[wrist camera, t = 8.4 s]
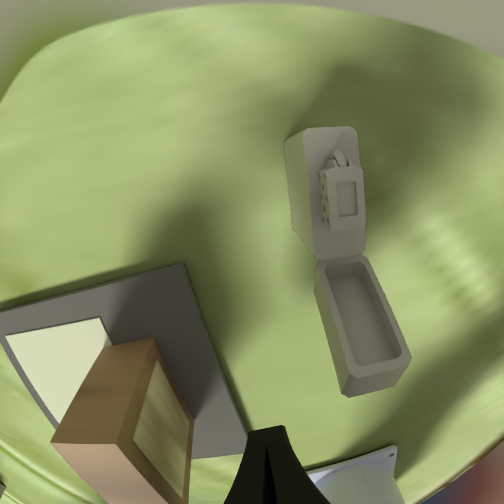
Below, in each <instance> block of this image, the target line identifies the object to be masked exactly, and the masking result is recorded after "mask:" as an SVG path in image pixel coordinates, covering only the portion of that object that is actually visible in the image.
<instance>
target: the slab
mask: <svg viewBox="0 0 504 504" xmlns="http://www.w3.org/2000/svg"><path fill="white" fill-rule="evenodd" d="M193 431H194V419H193V417H192V415H191V413H190V411H189V409H188V408H187V406H186V404H185V402H184V400H183V398H182V396H181V394H180V392H179V390H178V388H177V386H176V384H175V382H174V380H173V378H172V376H171V374H170V372H169V370H168V368H167V366H166V363H165V361H164V359H163V357H162V355H161V353H160V350H159V348H158V346H157V344H156V342H155V339H154V337H153V338H148V339H143V340H138V341H133V342H128V343H123V344H118V345H113V346H107V347H103V349H102V350H101V352H100V354H99V355H98V357H97V358H96V360H95V362H94V364H93V365H92V367H91V369H90V370H89V372H88V374H87V375H86V377H85V379H84V381H83V382H82V384H81V386H80V388H79V389H78V391H77V393H76V395H75V396H74V398H73V400H72V402H71V404H70V405H69V407H68V409H67V411H66V413H65V415H64V416H63V418H62V420H61V422H60V424H59V426H58V428H57V430H56V432H55V434H54V435H53V437H52V439H51V441H50V443H51V445H52V446H53V447H54V448H55V449H56V451H57V452H58V453H59V454H60V455H61V456H62V457H63V459H64V460H65V461H66V462H67V463H68V464H69V465H70V466H71V467H72V468H73V469H74V471H75V472H76V473H77V474H78V475H79V476H80V477H81V478H82V479H83V480H84V481H85V482H86V483H87V484H88V485H89V486H90V487H91V488H92V489H93V490H94V491H95V492H97V493H98V494H99V495H100V496H101V497H102V498H103V499H104V500H105V501H106V502H107V503H109V504H188V498H189V483H190V469H191V455H192V443H193Z"/></svg>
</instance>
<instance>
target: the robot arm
mask: <svg viewBox="0 0 504 504" xmlns="http://www.w3.org/2000/svg"><path fill="white" fill-rule="evenodd" d="M397 451H398V449H397V446H396V445H391V446H388V447H386V448H383V449H380V450H377V451H375V452H372V453H369V454H366V455H363V456H360V457H357V458H354V459H350V460H347V461H344V462H340V463H337V464H333V465H330V466H326V467H322V468H318V469H314V470H310V471H305V470H304V468H303V467H302V465H301V463H300V462H299V460H298V458H297V457H296V455H295V453H294V451H293V449H292V447H291V445H290V442H289V438H288V435H287V432H286V428H285V426H283V425H279V426H275V427H270V428H265V429H259V430H254V431H250V432H249V433H248V437H247V442H246V447H245V451H244V454H243V458H242V461H241V464H240V467H239V470H238V472H237V475H236V478H235V480H234V483H233V485H232V487H231V489H230V492H229V494H228V496H227V498H226V500H225V502H224V504H405V502H404V500H403V497H402V495H401V493H400V490H399V488H398V486H397V483H396V481H395V479H394V477H393V476H394V470H395V464H396V458H397Z"/></svg>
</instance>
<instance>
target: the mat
mask: <svg viewBox="0 0 504 504" xmlns="http://www.w3.org/2000/svg"><path fill="white" fill-rule="evenodd" d="M153 337H154V339H155V342H156V344H157V346H158V348H159V350H160V353H161V355H162V357H163V359H164V361H165V363H166V366H167V368H168V370H169V372H170V374H171V376H172V378H173V380H174V382H175V384H176V386H177V388H178V390H179V392H180V394H181V396H182V398H183V400H184V402H185V404H186V406H187V408H188V409H189V411H190V413H191V415H192V417H193V419H194V431H193V443H192V455H191V459H200V458H210V457H219V456H227V455H235V454H242V453H244V451H245V447H246V442H247V437H248V432H247V430H246V427H245V425H244V423H243V420H242V418H241V416H240V413H239V411H238V409H237V406H236V404H235V401H234V399H233V396H232V394H231V391H230V389H229V386H228V384H227V381H226V379H225V376H224V374H223V371H222V369H221V366H220V364H219V361H218V358H217V356H216V353H215V350H214V348H213V345H212V342H211V340H210V337H209V334H208V331H207V329H206V326H205V323H204V320H203V318H202V315H201V312H200V309H199V306H198V303H197V300H196V298H195V295H194V292H193V289H192V286H191V283H190V280H189V277H188V274H187V271H186V268H185V265H184V262H182V263H178V264H174V265H170V266H166V267H162V268H158V269H155V270H151V271H147V272H143V273H139V274H135V275H131V276H128V277H124V278H120V279H116V280H112V281H109V282H105V283H101V284H97V285H93V286H90V287H86V288H82V289H78V290H74V291H71V292H67V293H63V294H59V295H56V296H52V297H48V298H44V299H41V300H37V301H33V302H29V303H26V304H22V305H18V306H15V307H11V308H7V309H4V310H0V342H1V344H2V346H3V348H4V350H5V352H6V354H7V355H8V357H9V359H10V361H11V363H12V364H13V366H14V368H15V370H16V371H17V373H18V375H19V376H20V378H21V380H22V381H23V383H24V384H25V386H26V388H27V389H28V391H29V392H30V394H31V395H32V397H33V398H34V400H35V401H36V403H37V404H38V406H39V407H40V409H41V410H42V411H43V413H44V414H45V416H46V417H47V418H48V420H49V421H50V422H51V424H52V425H53V426H54V428H55V429H56V430H57V428H58V426H59V424H60V422H61V420H62V418H63V416H64V415H65V413H66V411H67V409H68V407H69V405H70V404H71V402H72V400H73V398H74V396H75V395H76V393H77V391H78V389H79V388H80V386H81V384H82V382H83V381H84V379H85V377H86V375H87V374H88V372H89V370H90V369H91V367H92V365H93V364H94V362H95V360H96V358H97V357H98V355H99V354H100V352H101V350H102V349H103V347H107V346H113V345H118V344H123V343H128V342H133V341H138V340H143V339H148V338H153Z"/></svg>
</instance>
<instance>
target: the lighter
mask: <svg viewBox="0 0 504 504" xmlns="http://www.w3.org/2000/svg"><path fill="white" fill-rule="evenodd" d="M283 147H284V156H285V164H286V173H287V182H288V191H289V200H290V210H291V220H292V229H293V230H294V232H295V233H296V234H297V235H298V237H299V238H300V239H301V240H302V242H303V243H304V244H305V245H306V247H307V248H308V249H309V250H310V252H311V253H312V254H313V255H314V257H316V258H317V259H318V260H319V262H318V263H317V264H316V273H315V286H314V294H315V298H316V301H317V304H318V308H319V311H320V315H321V319H322V322H323V326H324V329H325V333H326V337H327V340H328V344H329V348H330V351H331V355H332V359H333V363H334V366H335V370H336V374H337V378H338V382H339V386H340V390H341V394H343V395H345V396H347V397H348V398H350V397H354V396H358V395H363V394H367V393H371V392H375V391H378V390H382V389H386V388H389V387H393V386H395V384H396V383H397V381H398V380H399V378H400V377H401V375H402V374H403V373H404V371H405V370H406V368H407V367H408V365H409V363H410V361H411V359H412V357H411V354H410V352H409V349H408V347H407V344H406V342H405V339H404V337H403V335H402V332H401V330H400V327H399V325H398V323H397V320H396V318H395V316H394V314H393V311H392V309H391V307H390V305H389V302H388V300H387V298H386V296H385V294H384V292H383V289H382V287H381V285H380V283H379V281H378V279H377V277H376V275H375V273H374V271H373V269H372V266H371V264H370V262H369V260H368V258H367V257H365V256H362V255H361V254H362V253H363V252H364V250H365V226H366V209H365V193H364V179H363V168H361V165H360V155H359V145H358V136H357V131H356V130H355V129H354V128H353V127H352V126H337V127H316V128H307V129H305V130H303V131H301V132H299V133H297V134H295V135H294V136H292V137H290V138H288V139H286V141H285V142H284V143H283Z"/></svg>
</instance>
